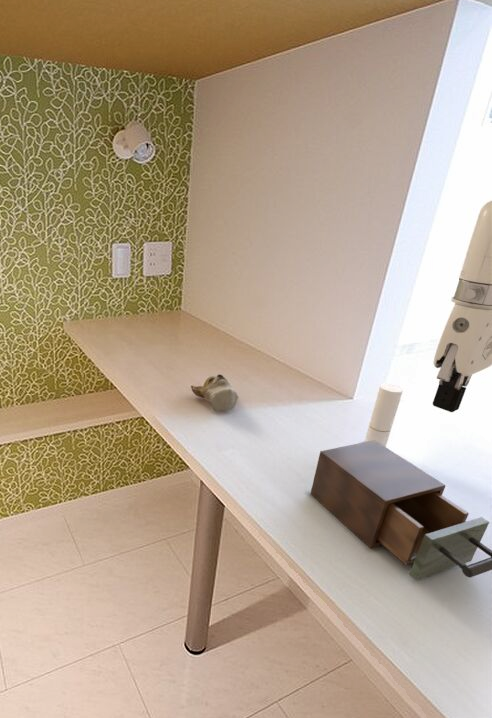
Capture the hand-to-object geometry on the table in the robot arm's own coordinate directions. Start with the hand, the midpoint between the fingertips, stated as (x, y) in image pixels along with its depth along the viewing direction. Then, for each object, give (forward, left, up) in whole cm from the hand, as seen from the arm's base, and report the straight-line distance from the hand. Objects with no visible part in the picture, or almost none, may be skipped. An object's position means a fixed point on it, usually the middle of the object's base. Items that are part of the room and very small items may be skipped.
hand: (444, 407), depth 70 cm
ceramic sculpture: (+13, -49, -21) cm, 55 cm away
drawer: (+8, +9, -20) cm, 23 cm away
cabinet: (+8, -2, -21) cm, 22 cm away
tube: (-10, -18, -21) cm, 29 cm away
